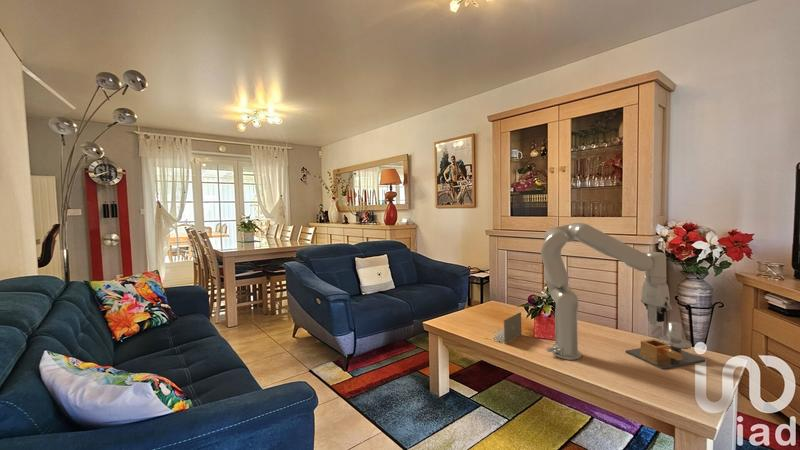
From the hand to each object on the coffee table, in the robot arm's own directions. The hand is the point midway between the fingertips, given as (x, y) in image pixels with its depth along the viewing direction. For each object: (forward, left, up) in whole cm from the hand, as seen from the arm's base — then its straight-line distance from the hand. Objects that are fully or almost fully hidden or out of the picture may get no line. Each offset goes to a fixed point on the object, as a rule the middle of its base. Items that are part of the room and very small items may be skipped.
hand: (655, 319), depth 157 cm
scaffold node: (+5, -1, -18) cm, 19 cm away
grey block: (0, 0, -2) cm, 2 cm away
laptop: (-50, +46, -19) cm, 71 cm away
